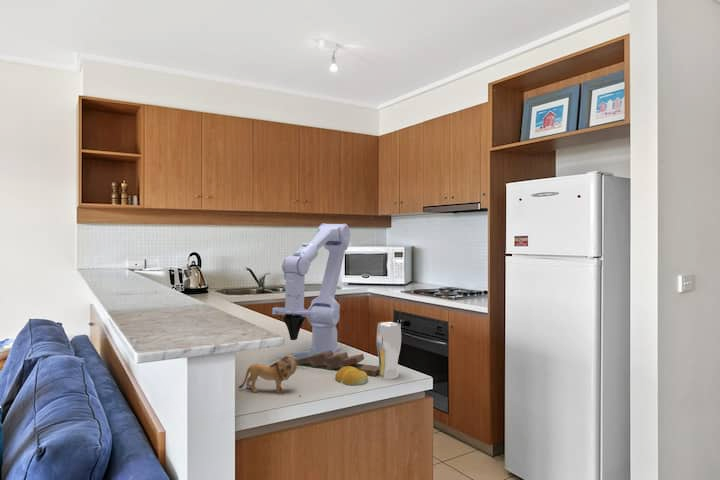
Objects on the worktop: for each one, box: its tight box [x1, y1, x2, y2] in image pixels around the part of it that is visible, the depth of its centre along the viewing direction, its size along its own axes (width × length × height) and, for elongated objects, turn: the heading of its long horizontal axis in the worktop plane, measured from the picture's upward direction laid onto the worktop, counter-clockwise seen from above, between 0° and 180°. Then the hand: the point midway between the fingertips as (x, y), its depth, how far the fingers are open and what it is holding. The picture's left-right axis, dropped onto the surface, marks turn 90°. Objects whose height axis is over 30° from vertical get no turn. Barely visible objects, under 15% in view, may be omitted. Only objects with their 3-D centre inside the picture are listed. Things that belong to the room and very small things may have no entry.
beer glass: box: [376, 321, 402, 380], centre depth 140 cm, size 7×7×15 cm
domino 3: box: [311, 351, 349, 368], centre depth 147 cm, size 2×5×10 cm
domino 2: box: [296, 350, 334, 366], centre depth 149 cm, size 2×5×10 cm
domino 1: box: [279, 348, 317, 360], centre depth 151 cm, size 2×5×10 cm
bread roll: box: [334, 366, 369, 386], centre depth 135 cm, size 8×9×4 cm
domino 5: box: [342, 363, 379, 377], centre depth 143 cm, size 2×5×10 cm
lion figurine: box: [237, 354, 298, 395], centre depth 126 cm, size 15×5×9 cm, turn 95°
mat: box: [272, 359, 342, 373], centre depth 148 cm, size 7×28×1 cm, turn 68°
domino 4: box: [326, 353, 365, 370], centre depth 145 cm, size 2×5×10 cm
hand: (293, 339), depth 151 cm, fingers closed
